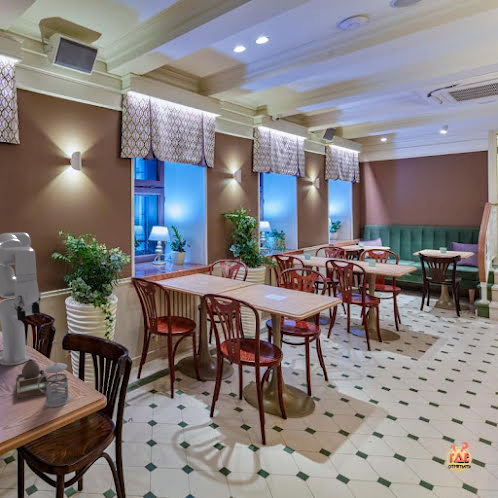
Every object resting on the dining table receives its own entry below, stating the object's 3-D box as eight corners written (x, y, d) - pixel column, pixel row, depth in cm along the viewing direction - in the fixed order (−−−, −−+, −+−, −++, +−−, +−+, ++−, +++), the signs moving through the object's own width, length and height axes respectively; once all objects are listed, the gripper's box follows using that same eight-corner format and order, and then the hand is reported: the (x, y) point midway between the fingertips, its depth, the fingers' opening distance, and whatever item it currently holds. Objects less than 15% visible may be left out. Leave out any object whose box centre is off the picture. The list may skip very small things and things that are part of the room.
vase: (32, 383, 165) (30, 364, 164) (18, 381, 166) (17, 362, 165) (43, 376, 172) (42, 357, 171) (30, 374, 173) (29, 356, 172)
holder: (17, 388, 161) (17, 381, 160) (48, 381, 167) (47, 375, 166) (17, 400, 151) (17, 393, 150) (50, 392, 157) (50, 385, 157)
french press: (74, 401, 150) (71, 341, 147) (42, 411, 143) (38, 348, 140) (67, 391, 158) (64, 334, 155) (36, 401, 150) (32, 340, 147)
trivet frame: (17, 376, 171) (17, 374, 171) (43, 371, 176) (43, 369, 176) (17, 386, 162) (17, 384, 162) (45, 380, 167) (45, 378, 167)
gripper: (30, 274, 169) (33, 311, 171) (3, 281, 152) (6, 322, 154) (46, 274, 169) (49, 311, 171) (21, 281, 152) (24, 323, 154)
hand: (29, 316), depth 162 cm, fingers open, 9 cm apart
